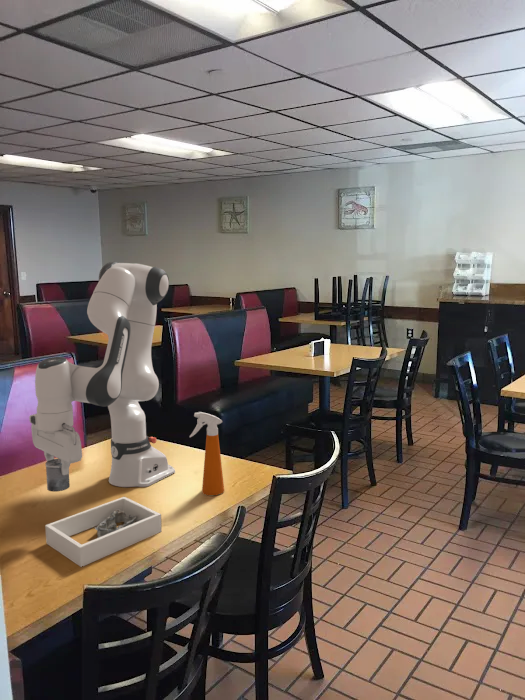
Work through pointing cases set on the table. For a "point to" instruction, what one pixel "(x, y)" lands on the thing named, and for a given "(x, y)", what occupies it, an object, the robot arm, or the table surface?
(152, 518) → the tote
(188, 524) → the table surface
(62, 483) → the metal tin
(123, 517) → the egg carton
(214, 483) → the spray bottle
